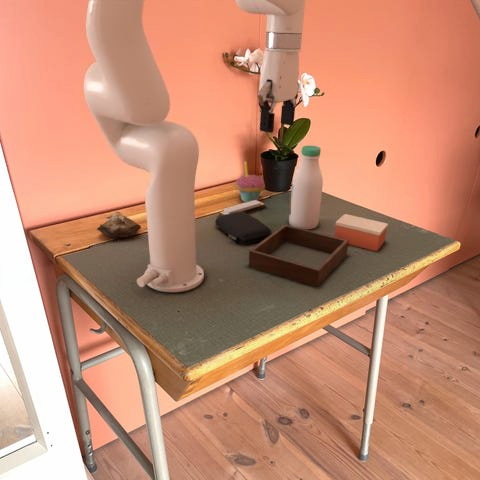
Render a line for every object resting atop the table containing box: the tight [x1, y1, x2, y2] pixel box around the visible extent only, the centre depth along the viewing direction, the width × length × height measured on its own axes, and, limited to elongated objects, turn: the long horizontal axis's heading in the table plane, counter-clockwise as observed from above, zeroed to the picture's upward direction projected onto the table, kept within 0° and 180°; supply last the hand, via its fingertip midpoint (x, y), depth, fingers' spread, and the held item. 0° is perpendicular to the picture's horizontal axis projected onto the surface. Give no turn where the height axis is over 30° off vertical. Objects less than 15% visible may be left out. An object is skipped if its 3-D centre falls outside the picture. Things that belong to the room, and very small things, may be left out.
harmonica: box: [218, 200, 267, 217], centre depth 137 cm, size 15×3×2 cm, turn 131°
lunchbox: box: [334, 213, 389, 252], centre depth 122 cm, size 6×11×5 cm, turn 59°
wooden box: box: [248, 224, 350, 288], centre depth 113 cm, size 18×17×4 cm
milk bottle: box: [288, 144, 324, 230], centre depth 126 cm, size 8×8×20 cm
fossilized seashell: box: [96, 211, 142, 239], centre depth 122 cm, size 8×7×10 cm
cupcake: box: [235, 158, 266, 203], centre depth 143 cm, size 9×8×12 cm
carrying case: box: [214, 211, 273, 245], centre depth 125 cm, size 11×3×15 cm
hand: (277, 127), depth 114 cm, fingers open, 9 cm apart
